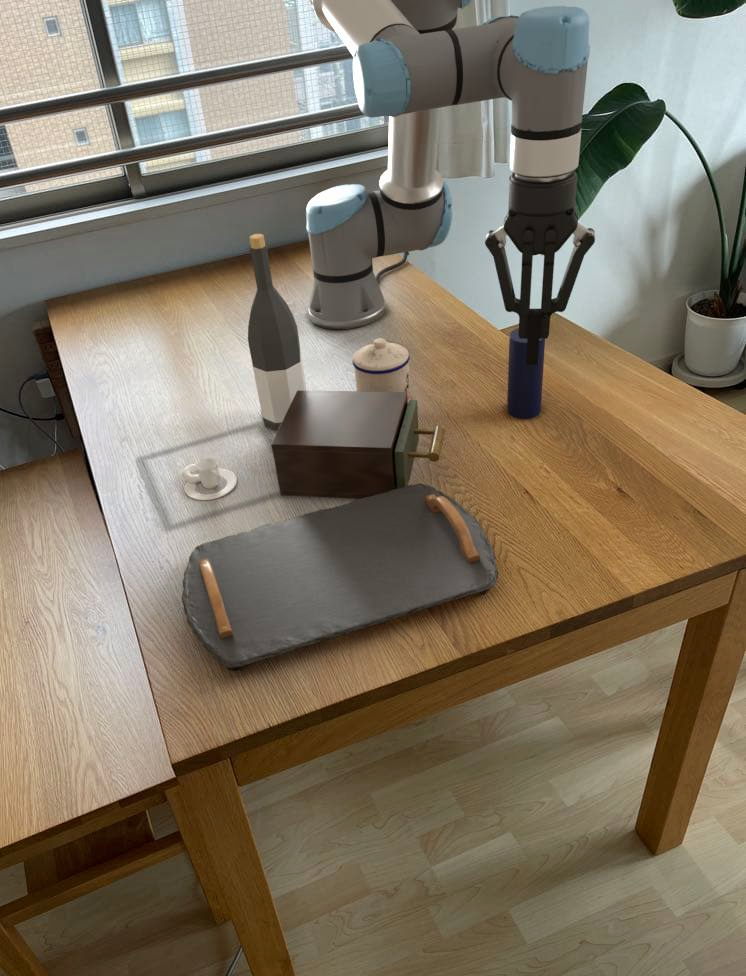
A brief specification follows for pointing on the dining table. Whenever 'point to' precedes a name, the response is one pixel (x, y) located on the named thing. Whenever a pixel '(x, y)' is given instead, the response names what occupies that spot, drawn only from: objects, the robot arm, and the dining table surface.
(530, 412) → the navy cylinder
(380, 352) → the teacup with lid
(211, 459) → the teacup and saucer
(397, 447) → the drawer
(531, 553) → the dining table surface
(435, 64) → the robot arm
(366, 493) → the cabinet
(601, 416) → the dining table surface
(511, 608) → the dining table surface
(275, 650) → the serving tray
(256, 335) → the wine bottle
